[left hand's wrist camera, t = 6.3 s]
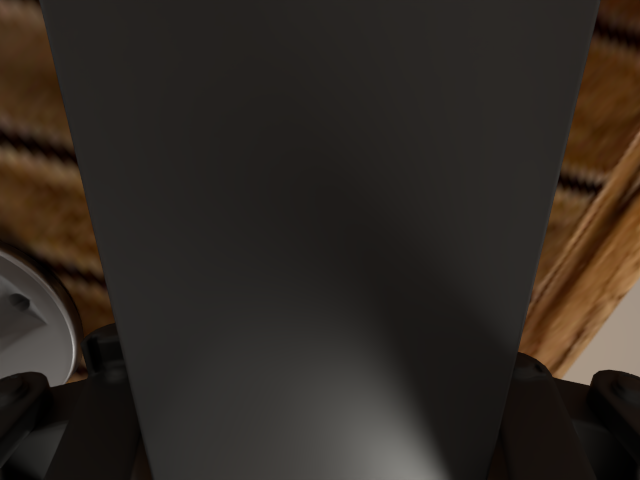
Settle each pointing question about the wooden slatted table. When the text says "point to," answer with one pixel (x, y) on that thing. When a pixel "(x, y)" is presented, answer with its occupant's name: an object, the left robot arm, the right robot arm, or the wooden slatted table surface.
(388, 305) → the bar
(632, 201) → the wooden slatted table surface
